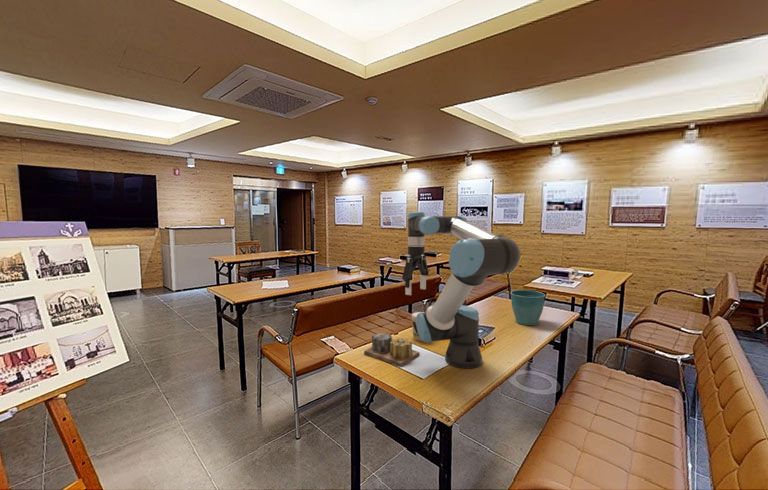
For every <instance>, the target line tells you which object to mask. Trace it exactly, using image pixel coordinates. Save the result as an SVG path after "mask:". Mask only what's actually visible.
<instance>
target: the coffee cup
mask: <svg viewBox="0 0 768 490" xmlns="http://www.w3.org/2000/svg"><path fill="white" fill-rule="evenodd" d="M421 312H422V311H417V312H413V313H412V314H411V324H412V338H413V340H415V341H421V342H423V341H422V340H421V338H420V337H419V334H418V331H417V326H416V317H417V314H419V313H421ZM425 312H426V311H425ZM425 312H424V311H423V312H422V313H425Z"/></svg>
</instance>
